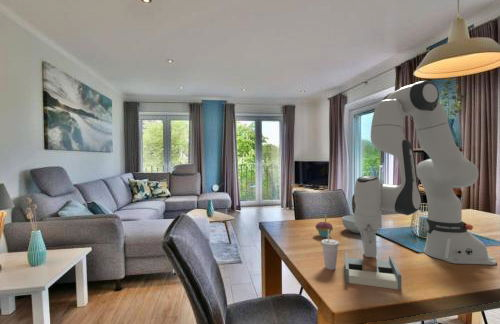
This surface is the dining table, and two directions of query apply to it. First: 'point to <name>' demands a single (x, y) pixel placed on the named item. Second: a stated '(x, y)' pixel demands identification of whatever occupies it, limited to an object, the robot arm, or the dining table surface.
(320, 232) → the cupcake
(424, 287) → the dining table surface
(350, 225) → the cereal bowl
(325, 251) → the smoothie
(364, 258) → the terracotta block
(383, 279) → the board
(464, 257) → the robot arm
